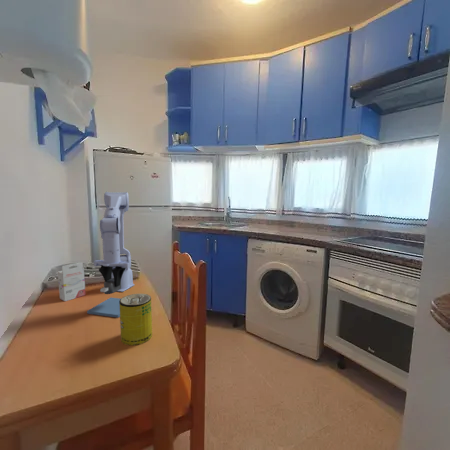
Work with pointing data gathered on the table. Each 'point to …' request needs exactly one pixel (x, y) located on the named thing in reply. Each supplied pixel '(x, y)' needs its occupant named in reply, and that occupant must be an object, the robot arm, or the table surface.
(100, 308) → the blue-grey mat
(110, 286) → the dark grey rounded block
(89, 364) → the table surface
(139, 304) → the beverage can
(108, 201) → the robot arm
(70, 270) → the ink cartridge box
